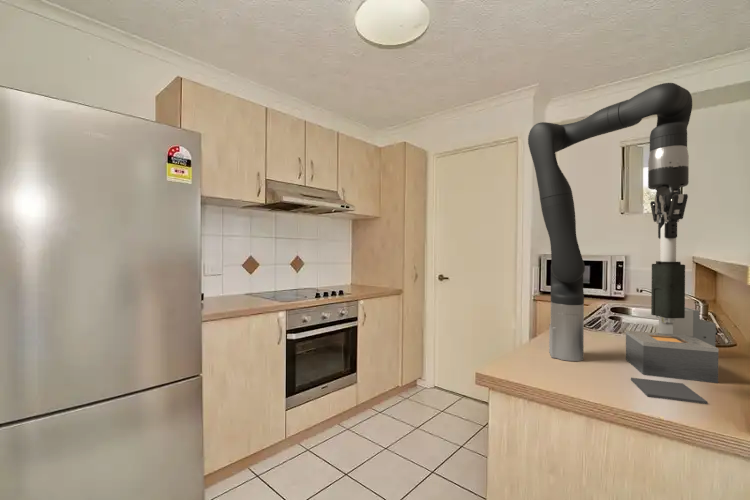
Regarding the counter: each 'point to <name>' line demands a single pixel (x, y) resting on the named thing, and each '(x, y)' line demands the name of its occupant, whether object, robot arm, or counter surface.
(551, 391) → the counter surface
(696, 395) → the mat
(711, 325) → the circuit breaker
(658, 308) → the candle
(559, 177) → the robot arm
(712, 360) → the box
